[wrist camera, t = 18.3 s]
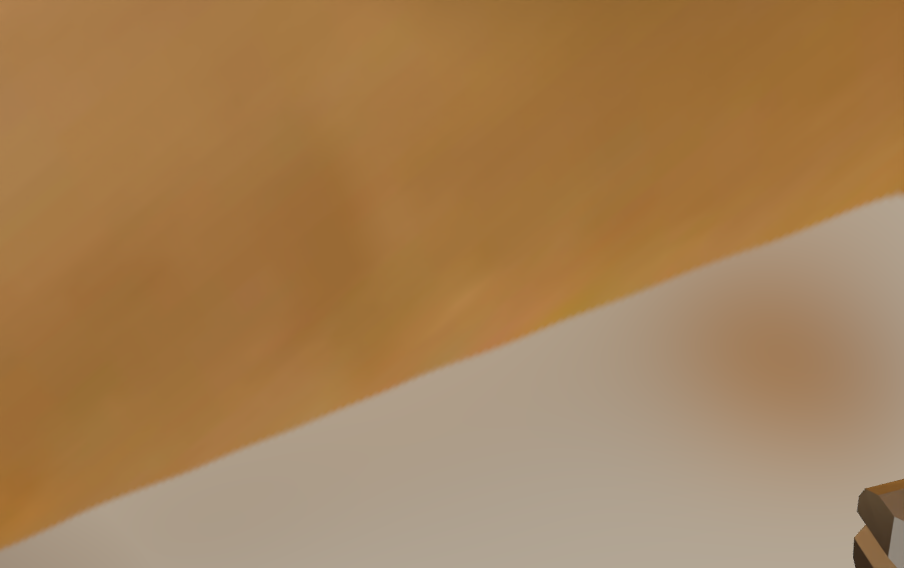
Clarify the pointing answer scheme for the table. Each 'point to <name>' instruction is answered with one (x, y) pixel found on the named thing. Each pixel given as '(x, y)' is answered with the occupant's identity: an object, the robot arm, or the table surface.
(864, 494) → the robot arm
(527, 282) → the table surface
